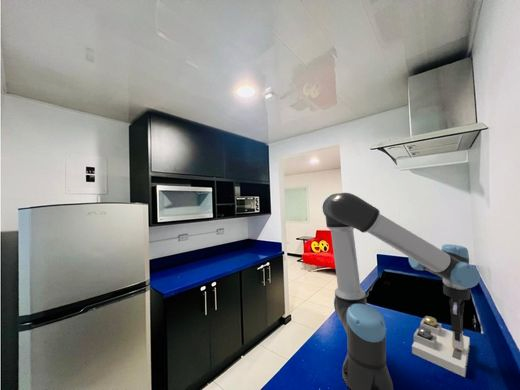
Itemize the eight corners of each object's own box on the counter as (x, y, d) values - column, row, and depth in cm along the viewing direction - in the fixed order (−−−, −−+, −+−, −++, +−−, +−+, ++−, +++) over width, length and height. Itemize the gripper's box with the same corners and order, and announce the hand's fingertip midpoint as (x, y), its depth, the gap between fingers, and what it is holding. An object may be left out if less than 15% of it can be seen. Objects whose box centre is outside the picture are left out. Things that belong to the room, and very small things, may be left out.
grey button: (430, 341, 82) (430, 334, 82) (417, 336, 85) (417, 329, 85) (432, 337, 85) (432, 329, 85) (420, 332, 88) (419, 325, 88)
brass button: (435, 329, 90) (435, 322, 90) (424, 325, 93) (424, 318, 93) (437, 325, 93) (437, 318, 93) (426, 321, 96) (425, 315, 96)
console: (464, 377, 71) (464, 361, 71) (411, 353, 82) (411, 339, 83) (469, 344, 87) (469, 331, 87) (424, 328, 98) (424, 316, 98)
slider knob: (463, 351, 78) (462, 340, 79) (452, 347, 81) (452, 336, 81) (463, 347, 80) (463, 337, 81) (453, 343, 83) (453, 333, 83)
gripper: (468, 294, 72) (470, 362, 72) (471, 284, 81) (473, 344, 80) (440, 287, 78) (442, 350, 77) (445, 278, 87) (447, 335, 86)
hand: (458, 347), depth 79 cm, fingers closed
